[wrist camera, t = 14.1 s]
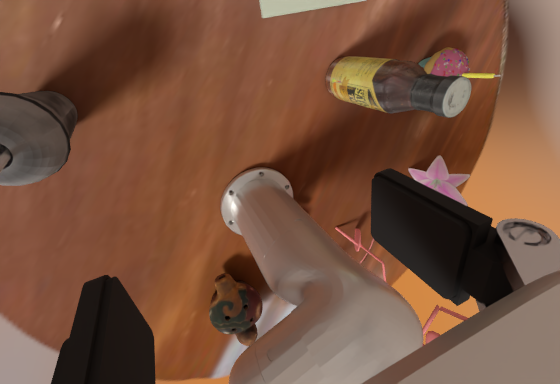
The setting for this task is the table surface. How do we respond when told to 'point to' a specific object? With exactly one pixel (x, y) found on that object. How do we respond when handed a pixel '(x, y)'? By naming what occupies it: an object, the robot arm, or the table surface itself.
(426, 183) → the lily
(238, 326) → the decorative turtle
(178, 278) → the table surface
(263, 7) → the mat
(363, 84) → the sauce bottle
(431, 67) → the cupcake
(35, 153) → the beverage cup
